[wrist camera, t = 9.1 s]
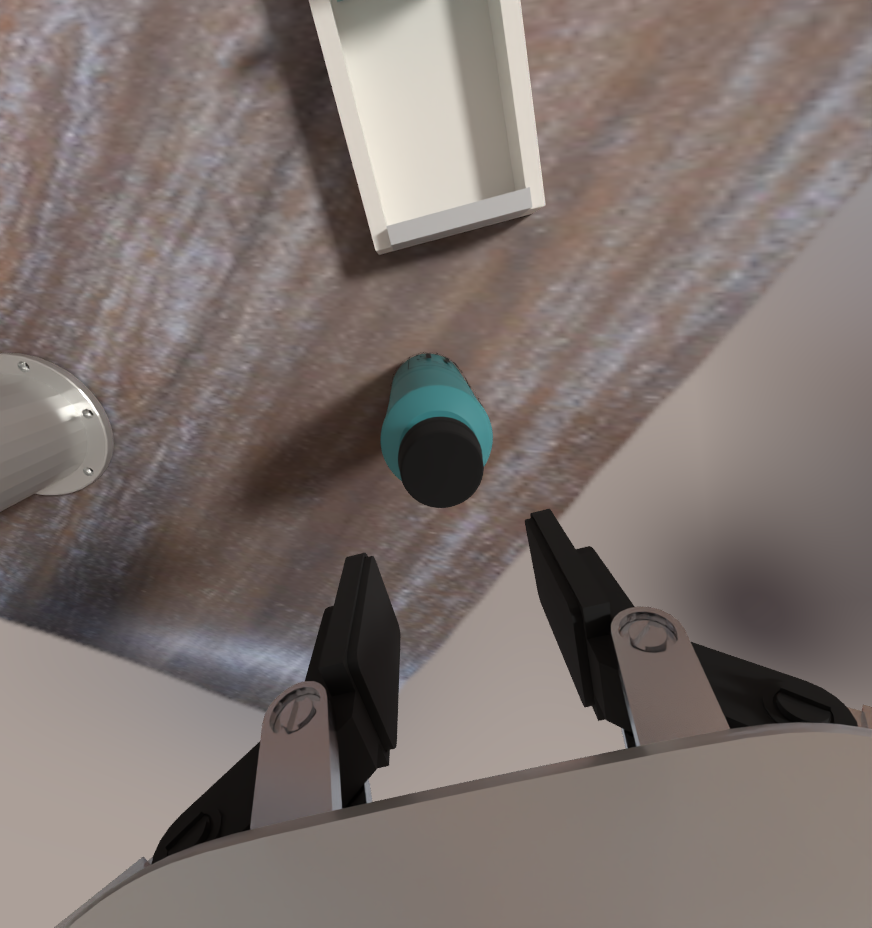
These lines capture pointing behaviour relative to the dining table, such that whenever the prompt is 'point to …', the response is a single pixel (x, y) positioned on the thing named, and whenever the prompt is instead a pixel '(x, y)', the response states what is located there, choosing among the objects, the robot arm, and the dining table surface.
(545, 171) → the dining table surface
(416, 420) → the beverage bottle
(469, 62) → the white divided tray
